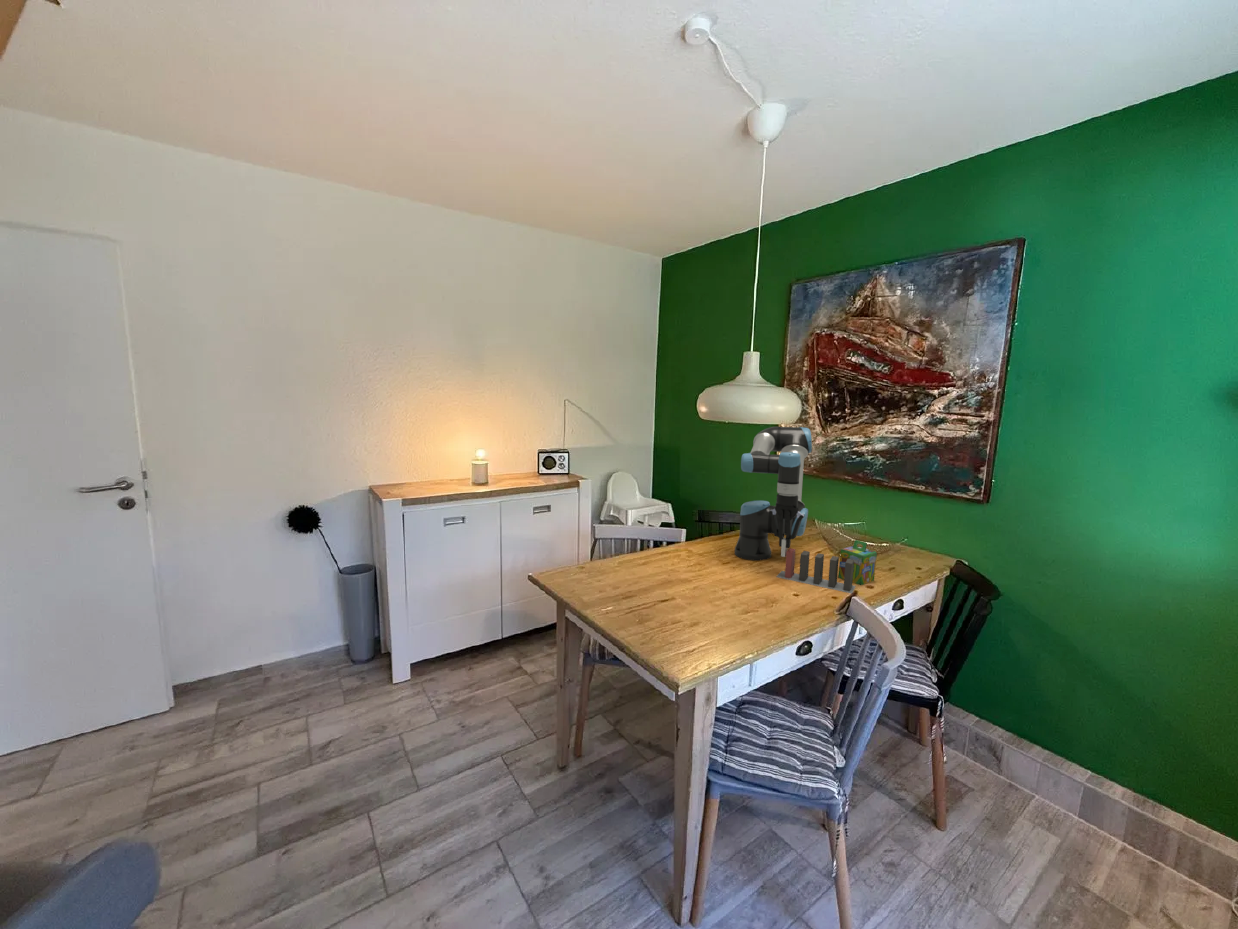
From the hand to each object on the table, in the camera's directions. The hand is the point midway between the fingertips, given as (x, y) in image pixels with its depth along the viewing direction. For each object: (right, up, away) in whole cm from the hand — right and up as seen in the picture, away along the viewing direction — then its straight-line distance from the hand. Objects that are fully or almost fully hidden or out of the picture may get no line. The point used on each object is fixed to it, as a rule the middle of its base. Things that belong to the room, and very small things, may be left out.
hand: (784, 555), depth 178 cm
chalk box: (+26, -9, -2) cm, 28 cm away
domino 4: (+14, -9, -8) cm, 19 cm away
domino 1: (+2, -8, 0) cm, 8 cm away
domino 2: (+6, -8, -3) cm, 11 cm away
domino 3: (+10, -9, -6) cm, 15 cm away
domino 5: (+19, -9, -11) cm, 24 cm away
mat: (+10, -9, -5) cm, 14 cm away
